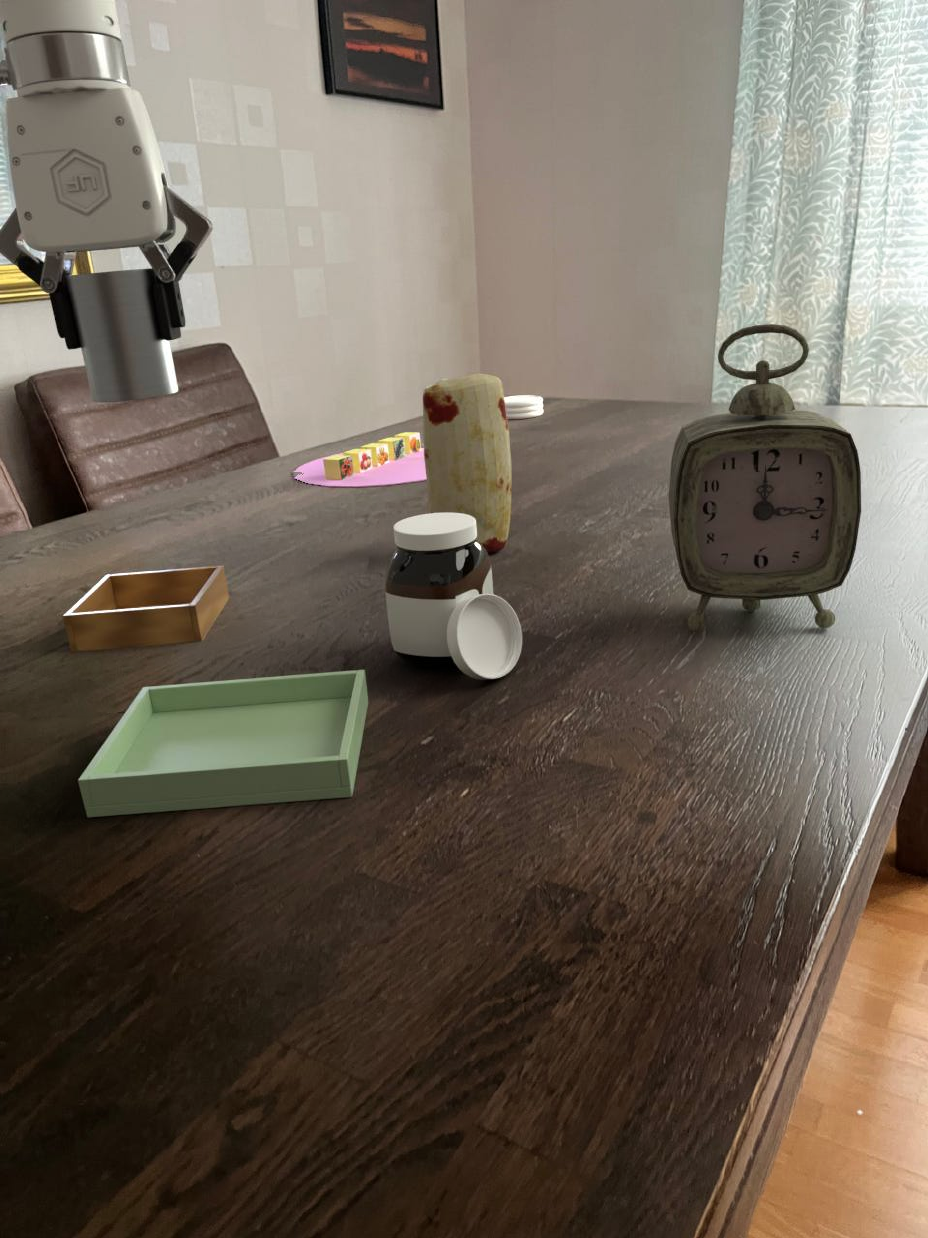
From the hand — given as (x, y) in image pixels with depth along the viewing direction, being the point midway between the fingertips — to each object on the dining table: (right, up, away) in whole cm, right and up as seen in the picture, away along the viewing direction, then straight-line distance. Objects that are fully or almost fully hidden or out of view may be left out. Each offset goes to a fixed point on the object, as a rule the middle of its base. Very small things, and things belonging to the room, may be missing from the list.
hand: (125, 341), depth 73 cm
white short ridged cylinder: (+37, +21, +127) cm, 134 cm away
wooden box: (-5, -22, +22) cm, 32 cm away
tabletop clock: (+51, -21, +12) cm, 57 cm away
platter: (+13, +5, +89) cm, 91 cm away
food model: (+27, -14, +38) cm, 48 cm away
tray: (+10, -31, -4) cm, 32 cm away
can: (0, -4, +1) cm, 4 cm away
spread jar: (+25, -25, +9) cm, 37 cm away
